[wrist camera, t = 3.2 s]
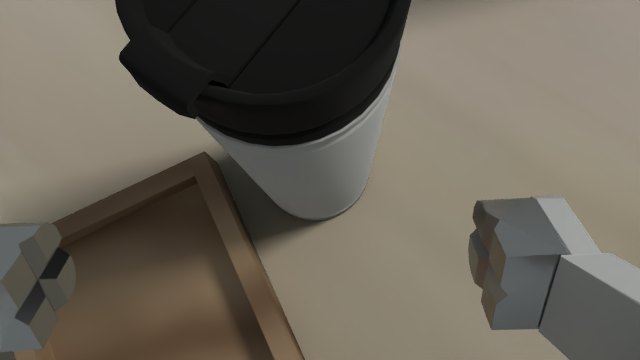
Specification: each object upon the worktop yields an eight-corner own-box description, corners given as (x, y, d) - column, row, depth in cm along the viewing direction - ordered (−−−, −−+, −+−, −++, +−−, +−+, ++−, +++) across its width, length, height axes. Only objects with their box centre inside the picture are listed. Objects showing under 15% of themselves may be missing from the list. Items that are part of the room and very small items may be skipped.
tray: (350, 461, 26) (351, 482, 23) (124, 575, 26) (99, 610, 23) (216, 162, 30) (204, 151, 27) (14, 258, 29) (-18, 256, 26)
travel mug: (238, 184, 29) (23, -1, 10) (304, 97, 30) (233, -236, 10) (323, 247, 28) (278, 185, 9) (390, 156, 29) (486, -89, 9)
